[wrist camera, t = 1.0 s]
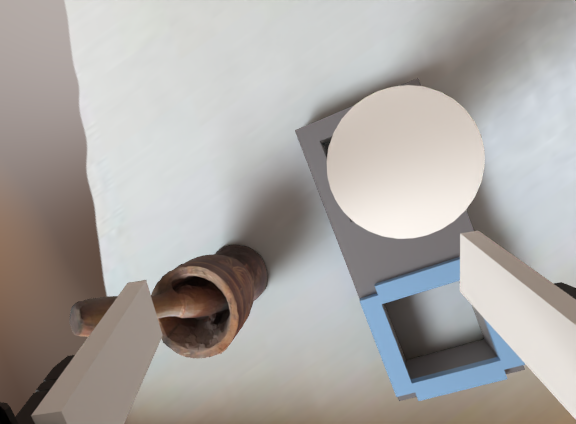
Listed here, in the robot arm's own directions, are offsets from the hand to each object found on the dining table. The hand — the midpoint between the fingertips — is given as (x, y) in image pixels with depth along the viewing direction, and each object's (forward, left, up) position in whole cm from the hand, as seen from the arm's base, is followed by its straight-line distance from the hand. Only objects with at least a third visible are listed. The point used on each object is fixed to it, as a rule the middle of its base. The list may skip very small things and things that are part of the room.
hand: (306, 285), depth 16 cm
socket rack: (-2, +8, -28) cm, 29 cm away
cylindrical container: (-7, 0, -28) cm, 29 cm away
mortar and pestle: (+14, -7, -29) cm, 33 cm away
